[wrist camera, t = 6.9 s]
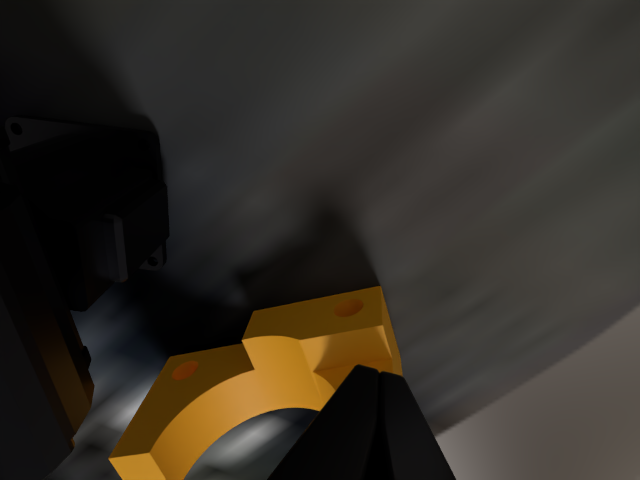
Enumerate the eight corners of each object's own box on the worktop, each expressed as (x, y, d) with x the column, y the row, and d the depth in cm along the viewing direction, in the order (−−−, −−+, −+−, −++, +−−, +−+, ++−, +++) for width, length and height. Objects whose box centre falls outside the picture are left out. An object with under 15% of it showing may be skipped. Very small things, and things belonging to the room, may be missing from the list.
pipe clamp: (380, 284, 21) (385, 382, 15) (400, 355, 23) (411, 468, 17) (157, 329, 23) (87, 428, 18) (189, 390, 25) (136, 499, 19)
